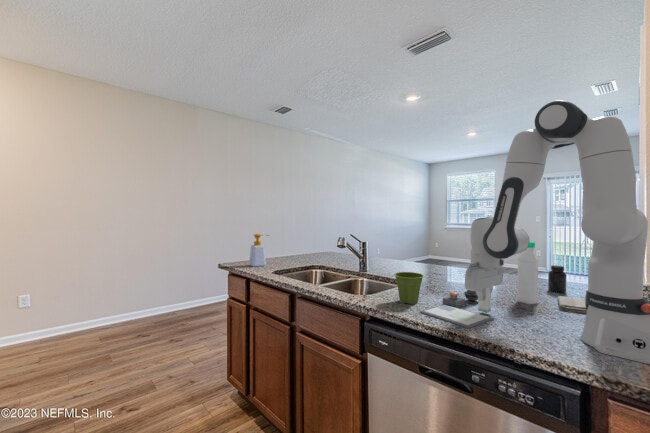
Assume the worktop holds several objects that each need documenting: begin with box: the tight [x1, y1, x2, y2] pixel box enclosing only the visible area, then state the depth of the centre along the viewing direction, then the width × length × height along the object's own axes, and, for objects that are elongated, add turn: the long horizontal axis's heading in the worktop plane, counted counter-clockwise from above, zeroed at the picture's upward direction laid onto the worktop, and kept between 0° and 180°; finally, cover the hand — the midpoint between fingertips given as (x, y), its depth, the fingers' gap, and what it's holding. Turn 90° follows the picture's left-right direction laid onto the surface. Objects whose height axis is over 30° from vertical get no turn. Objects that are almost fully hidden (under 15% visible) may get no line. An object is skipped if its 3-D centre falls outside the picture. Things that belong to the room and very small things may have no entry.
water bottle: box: [516, 241, 539, 305], centre depth 126 cm, size 7×7×25 cm
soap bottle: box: [248, 233, 270, 268], centre depth 214 cm, size 10×14×22 cm
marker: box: [477, 287, 492, 314], centre depth 112 cm, size 3×3×10 cm
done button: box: [448, 291, 460, 300], centre depth 122 cm, size 4×4×4 cm
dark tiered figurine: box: [463, 289, 478, 305], centre depth 126 cm, size 6×6×12 cm
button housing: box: [442, 295, 466, 308], centre depth 122 cm, size 6×6×2 cm
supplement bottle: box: [547, 265, 567, 294], centre depth 144 cm, size 7×7×12 cm
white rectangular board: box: [419, 304, 494, 329], centre depth 109 cm, size 19×15×1 cm
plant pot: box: [393, 271, 425, 305], centre depth 127 cm, size 12×12×11 cm
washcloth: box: [557, 295, 587, 315], centre depth 120 cm, size 12×18×3 cm, turn 146°
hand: (484, 299), depth 112 cm, fingers closed on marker, 3 cm apart
